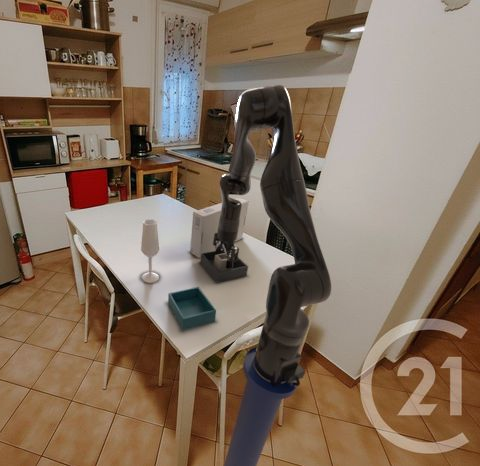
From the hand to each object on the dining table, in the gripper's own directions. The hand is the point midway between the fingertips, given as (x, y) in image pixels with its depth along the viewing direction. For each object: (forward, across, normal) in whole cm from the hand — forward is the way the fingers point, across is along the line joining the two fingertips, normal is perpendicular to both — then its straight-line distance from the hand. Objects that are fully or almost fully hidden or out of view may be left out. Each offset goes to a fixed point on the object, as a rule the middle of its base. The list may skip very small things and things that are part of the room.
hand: (222, 262), depth 107 cm
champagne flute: (+4, -4, -30) cm, 30 cm away
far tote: (+3, 0, 0) cm, 3 cm away
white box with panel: (+3, 0, 0) cm, 3 cm away
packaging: (+4, -18, +8) cm, 20 cm away
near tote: (+3, +18, -23) cm, 29 cm away
